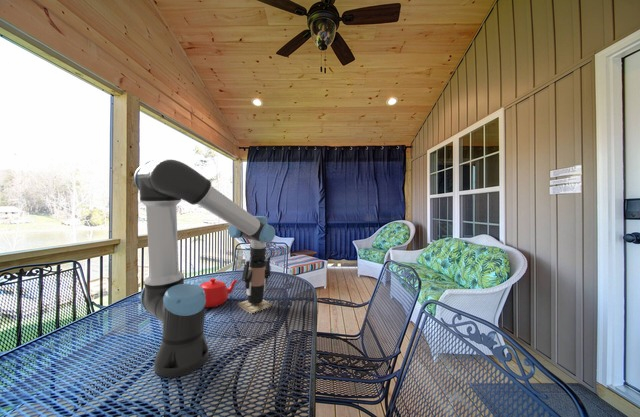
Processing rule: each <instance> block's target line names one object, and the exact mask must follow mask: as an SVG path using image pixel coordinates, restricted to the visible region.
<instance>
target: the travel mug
mask: <svg viewBox="0 0 640 417" xmlns="http://www.w3.org/2000/svg"><path fill="white" fill-rule="evenodd" d="M249 269H250V270H252V277H251V280H250V282H251V295H250V296H249V295H247V300H248V302H249V303H252V304H258V303H261V302H262V301H263V300H264V292H265V291H264V278H265V261H264V262H263V263H261V262H258V263H252V262H250V264H249Z"/></svg>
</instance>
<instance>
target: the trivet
mask: <svg viewBox="0 0 640 417" xmlns="http://www.w3.org/2000/svg"><path fill="white" fill-rule="evenodd" d="M237 306H238V307H240V309H242V310H244V311H245V312H247V313H248V312H249V313H248V314H250V313H251V314H250V315H253V314H252V313H254V314H256V313H259V312H261V310H262V311H264V310H263V309H265V308H267V309H269V308H268V307H270V306H272V307H273V304H272V303H271V302H269V301H267V300H265V299H263V301H262V302H261V303H258V304H252V303H249V302H248V299H247V300H243V301H241V302H237ZM270 308H271V307H270ZM265 310H266V309H265ZM258 311H259V312H258ZM255 312H256V313H255Z"/></svg>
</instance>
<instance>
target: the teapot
mask: <svg viewBox="0 0 640 417" xmlns="http://www.w3.org/2000/svg"><path fill="white" fill-rule="evenodd" d="M238 281H239V279H234V280H232V282H231V284H230V285H229V287H227V285H226V283H225V282H224V281H222V280H217V279H216V278H214V277H212V278H210V279H209V281H204V282H203V283H201V284H200V285H199V286H200V287H202V288H203V289H204V291H205V298H206V304H205V309H206V308H207V309H208V308H216V307H218V305H219V306H220V305H223V304H224V303H225V302H227V300H228V298H229V296H230V294H232V293H233V290H234V287H235V284H236V283H237V282H238ZM215 306H216V307H215Z"/></svg>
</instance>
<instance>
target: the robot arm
mask: <svg viewBox="0 0 640 417" xmlns="http://www.w3.org/2000/svg"><path fill="white" fill-rule="evenodd" d="M133 181H134V184H135V186H136V188H137V189H138V190H139V202H140V203H142V204H143V205H144V206H145V210H146V228H147V229H146V232H147V233H146V234H147V247H148V248H147V250H148V251H147V253H148V268H149V273H148V274H149V276H148V277H146V278H145V279H144V283H143V284H144V287H143V288H142V290H141V292H140V304H141V305H142V307H143V308H144V310H145V311H146V312H147V313H149V314H151V315H152V316H153V317H155V318H156V319H157V320H158V321H160V322H162V334H161V335H162V336H161V339H162V340H161V343H160V345H159V347H158V350H157V353H156V355H155V358H154V363H153V364H154V366H153V370H154V372H155V374H156V375H158V376H160V377H164V378H177V377H182V376H185V374H186V375H188V374H190V373H193V372H195V371H196V370H198V369H199V368H201V367H202V366H203V365H204V364H205V363H206V362H207V360H208V358H209V345H208V342H207V340H206V336H205V333H204V332H205V331H204V330H205V312H206V310H205V309H206V307H205V304H206V298H205V291H204V289H203V288H202V287H200V285H198V284H195V283H192V284H191V283H185V277H184V276H185V275H184V273H183V272H181V271H180V270H179V245H178V244H179V243H178V219H177V218H178V217H177V216H178V214H177V211H178V210H177V206H178V204H179V203H180V202H182V200H183V201H185V202H187V203H189V204H190V205H191V206H192V205H193V206H194V205H195V206H196V205H198V206H199V207H201V208H203V209H204V210H206V211H208V212H210V213H211V214H212V215H214V216H216V217H218V218H219V219H221V220H223V221H224V222H226V223H228V229H227V230H228V231H227V232H228V235H229V236H230V237H231V238H232V239H240V238H242V239H247V240H250V251H249V252H250V253H249V255H250V257H249V259H245V260H243V263H244V265H243V266H244V267H243V270H242V271H243V272H242V278H241V281H242V282H244V283H245V284H244V288H245V289H246V292H245V293H246V295H247V296H248V295H249V296H250V295H251V282H250V280H251V277H252V270H250V269H249V267H250V262H252V263H258V262H261V263H263V262H264V261H265V278H264V292H266V284H267V283H268V280H267V279H268V278H269V277H271V263H270V261H271V257H269V256H266V254H267V248H266V247H267V244H268V243H270V242H272V241H273V240H275V237H276V229H275V227H274V226H272V225H270V224H268V216H263V215H252V214H251V213H250V212H249V211H246V210H245V209H244V208H242V207H241V205H238V204H237V203H236V202H234V201H233V200H232V199H230V198H229V197H227V196H226V195H225V194H223V193H222V192H221V191H219V190H217V189H216V188H215V187H214V186H212V182H211V181H210V180H209V179H208V178H207V177H205V176H203V174H201V173H199V172H198V171H197V170H195V169H194V168H192V167H191V166H189V165H188V164H186V163H184V162H182V161H179V160H176V159H163V160H162V159H161V160H160V159H159V160H149V161H147V162H145V163H143V164H141V165H140V166H139V167H138V168H136V170H135V172H134V176H133Z"/></svg>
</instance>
